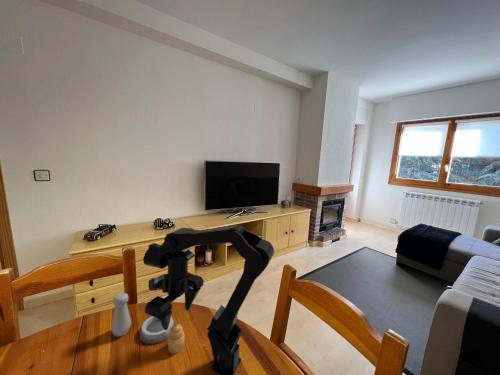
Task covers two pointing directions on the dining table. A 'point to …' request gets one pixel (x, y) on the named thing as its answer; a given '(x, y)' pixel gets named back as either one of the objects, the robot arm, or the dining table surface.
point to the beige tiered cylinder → (176, 339)
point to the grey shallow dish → (154, 331)
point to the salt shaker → (120, 315)
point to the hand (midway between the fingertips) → (177, 319)
